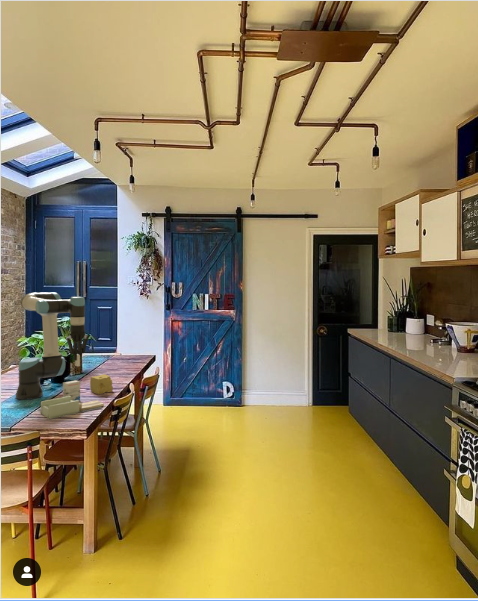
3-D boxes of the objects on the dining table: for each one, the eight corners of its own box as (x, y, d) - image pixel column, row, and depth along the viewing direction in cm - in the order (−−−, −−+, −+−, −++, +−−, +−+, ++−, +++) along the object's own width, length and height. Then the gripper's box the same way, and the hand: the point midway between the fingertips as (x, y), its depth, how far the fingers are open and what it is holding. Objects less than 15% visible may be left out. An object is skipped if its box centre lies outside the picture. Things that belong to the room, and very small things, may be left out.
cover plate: (71, 407, 236) (71, 401, 236) (96, 402, 247) (96, 396, 247) (78, 411, 230) (78, 404, 230) (103, 405, 240) (103, 399, 240)
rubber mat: (71, 406, 239) (71, 406, 239) (91, 402, 247) (91, 402, 247) (81, 412, 229) (81, 411, 229) (102, 408, 237) (102, 407, 237)
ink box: (76, 398, 255) (76, 379, 254) (80, 400, 252) (80, 381, 251) (62, 401, 248) (62, 382, 248) (66, 403, 245) (66, 383, 244)
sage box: (40, 413, 226) (40, 401, 226) (70, 407, 237) (70, 395, 237) (49, 419, 217) (49, 406, 217) (79, 412, 229) (79, 400, 228)
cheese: (112, 391, 272) (112, 376, 272) (97, 394, 264) (97, 379, 264) (104, 388, 279) (104, 373, 279) (89, 391, 271) (89, 376, 271)
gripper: (69, 325, 226) (69, 368, 227) (91, 324, 235) (91, 365, 237) (63, 324, 231) (63, 366, 233) (85, 323, 241) (85, 363, 242)
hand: (77, 365), depth 235 cm, fingers closed
